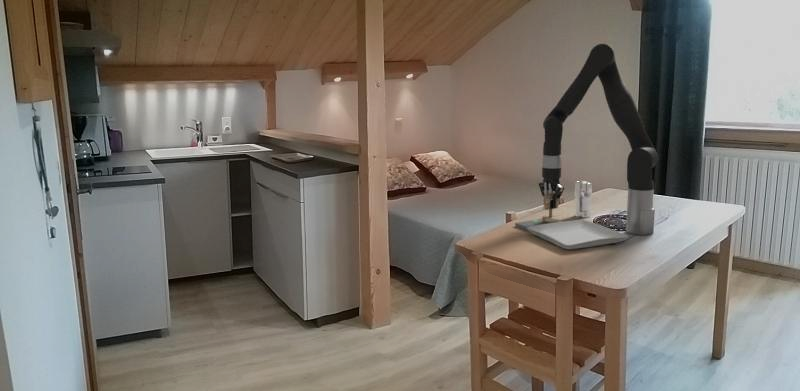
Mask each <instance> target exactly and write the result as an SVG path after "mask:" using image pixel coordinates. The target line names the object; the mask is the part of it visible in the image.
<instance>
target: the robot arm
mask: <svg viewBox="0 0 800 391" xmlns="http://www.w3.org/2000/svg"><path fill="white" fill-rule="evenodd" d="M597 77H598V78H599V82H600V83H601V86H602V88H603V92H604V96H605V100H606V104H607V106H608V109H609V112H610V115H611V116H612V118H613V120H614V122H615V123H616V125H617V126H618V128H619V129H620V131H622V133H623V134H624V135H625V137H626V138H627V140H628V142H629V146H630V149H631V151H630V152H629V153H628V156H627V160H626V162H627V163H626V181H627V185H628V186H627V204H626V222H625V223H626V227H625V231H626V232H627V233H629V234H633V235H639V236H645V235H650V234H654V231H655V230H654V227H655V215H656V214H655V212H656V209H655V208H654V193H655V190H654V189H655V181H654V180H653V168H654V167H655V166H656V165H657V163H658V160H659V159H658V158H659V155H658V152H657V151H656V148H655V146H654V145H653V143H652V141H651V139H650V137H649V136H648V134H647V131H646V129H645V126H644V124H643V120H642V118H641V116H640V114H639V110H638V108H637V105H636V103H635V100H634V98H633V96H632V93H631V92H630V90H629V88H628V86H627V85H626V83H625V82H624V80H623V78H622V77H621V75H620V72H619V69H618V65H617V62H616V56H615V50H614V49H613V47H612V46H611V45H609V44H608V43H607V44H606V43H599V44H596V45H595V46H594V47H592V49H591V50H590V52H589V54H588V56H587V59H586V61H585V62H584V64H583V66H582V68H581V69H580V71H579V73H578V75H577V76H576V78H575V79H573V81H572V83H571V84H570V85H569V87H568V88H567V90H565V92H564V93H563V95H562V96H561V98H560V99H559V101H558V102H557V104H556V105H555V107H553V109H552V110H551V111H550V112H549V113H548V115H547V116H546V117H545V119H544V120H543V123H542V124H543V125H542V126H543V129H544V141H543V145H542V146H543V148H542V153H543V154H542V159H541V177H542V178H543V179H542V181H541V182H538V187H539V190H540V192H541V195H542V197H544V195H545V194H550V199H551V200H550V209H552V210H556V208H555V207H556V199H558V200H559V199H561V197H562V195H563V192H564V190H565V186H562V185H561V182H560V179H561V177H562V139H563V132H564V126H563V124H564V123H565V122H566V120H567V119H568V117H569V116H571V115H572V114H573V113H574V112H575V110H576V109H577V108H578V106H579V105H580V103H581V102H582V100H583V99H584V98H585V96H586V94H587V92H588V90H589V89H590V87H591V85H592V84H593V82H594V81H595V80H596V78H597ZM553 194H554V197H553Z"/></svg>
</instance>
